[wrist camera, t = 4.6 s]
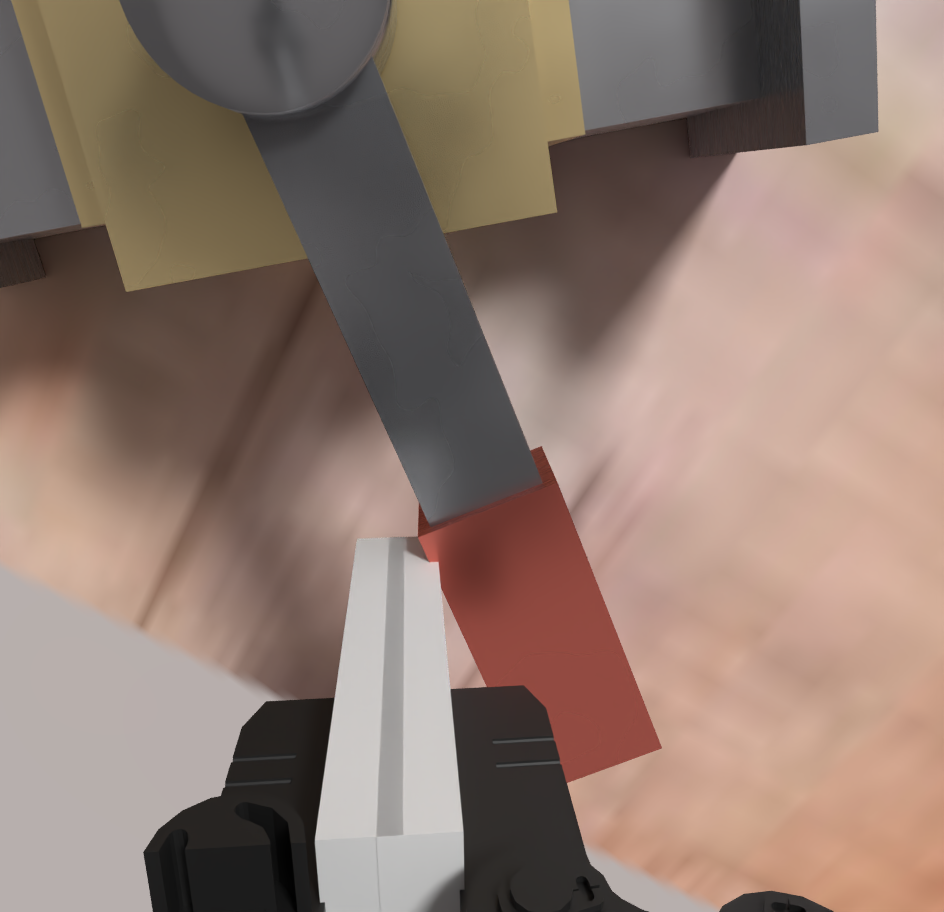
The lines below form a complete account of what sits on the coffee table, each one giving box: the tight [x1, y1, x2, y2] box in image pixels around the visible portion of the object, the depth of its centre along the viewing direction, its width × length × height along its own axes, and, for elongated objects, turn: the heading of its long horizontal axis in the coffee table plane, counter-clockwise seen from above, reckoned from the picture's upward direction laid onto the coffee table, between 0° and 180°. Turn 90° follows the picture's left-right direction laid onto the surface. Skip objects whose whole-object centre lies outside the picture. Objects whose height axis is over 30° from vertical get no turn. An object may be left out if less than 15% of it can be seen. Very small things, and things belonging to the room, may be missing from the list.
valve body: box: [0, 0, 878, 292], centre depth 16 cm, size 7×18×7 cm, turn 100°
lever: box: [119, 0, 662, 783], centre depth 12 cm, size 14×3×2 cm, turn 22°
